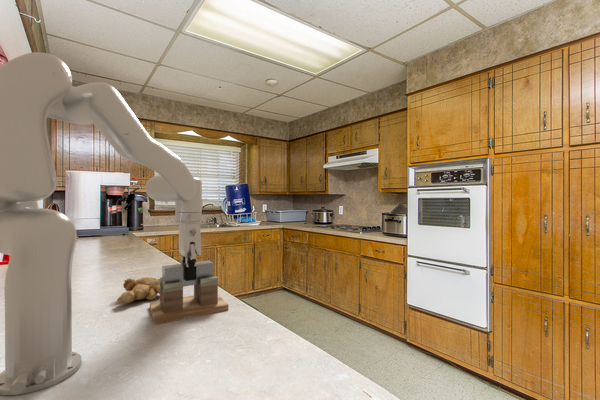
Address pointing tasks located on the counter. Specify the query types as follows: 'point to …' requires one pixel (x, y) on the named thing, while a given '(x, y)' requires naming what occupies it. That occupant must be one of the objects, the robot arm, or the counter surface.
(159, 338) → the counter surface
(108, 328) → the counter surface
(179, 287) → the post rig
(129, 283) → the ginger root
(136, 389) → the counter surface
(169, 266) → the bracket bar
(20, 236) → the robot arm
